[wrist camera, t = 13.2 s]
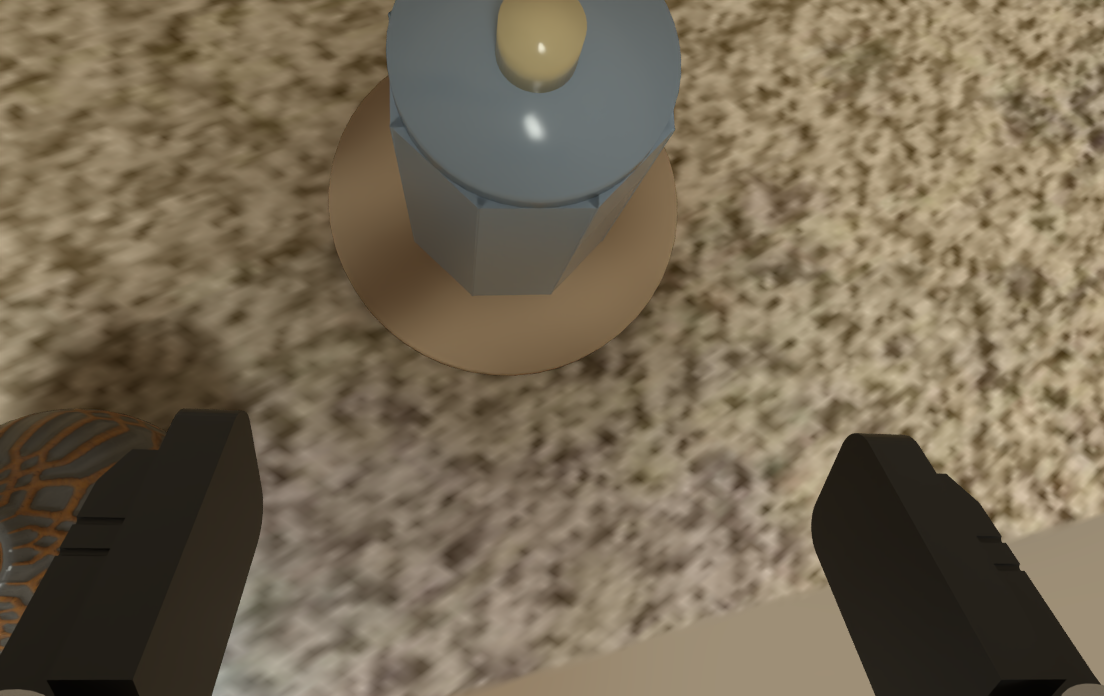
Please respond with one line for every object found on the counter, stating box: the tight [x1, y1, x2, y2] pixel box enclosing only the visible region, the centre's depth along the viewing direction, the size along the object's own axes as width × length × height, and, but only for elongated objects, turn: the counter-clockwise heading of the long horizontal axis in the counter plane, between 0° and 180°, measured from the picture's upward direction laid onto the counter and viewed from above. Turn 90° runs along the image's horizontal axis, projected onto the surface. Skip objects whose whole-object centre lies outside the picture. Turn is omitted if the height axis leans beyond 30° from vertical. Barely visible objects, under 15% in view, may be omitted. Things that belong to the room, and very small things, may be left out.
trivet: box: [328, 75, 677, 376], centre depth 27 cm, size 12×12×1 cm
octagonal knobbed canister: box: [386, 0, 681, 296], centre depth 21 cm, size 6×6×11 cm
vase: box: [0, 409, 167, 654], centre depth 20 cm, size 7×7×9 cm
